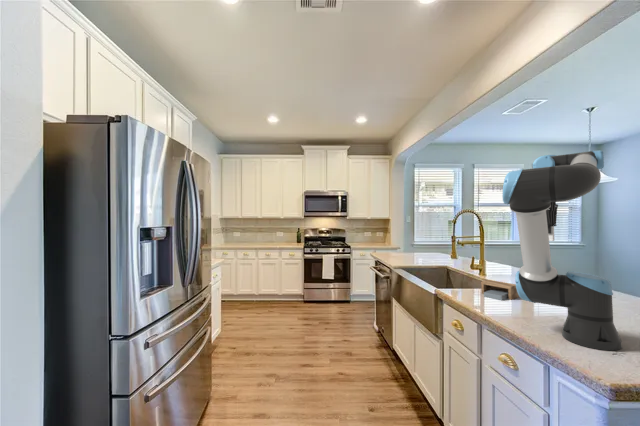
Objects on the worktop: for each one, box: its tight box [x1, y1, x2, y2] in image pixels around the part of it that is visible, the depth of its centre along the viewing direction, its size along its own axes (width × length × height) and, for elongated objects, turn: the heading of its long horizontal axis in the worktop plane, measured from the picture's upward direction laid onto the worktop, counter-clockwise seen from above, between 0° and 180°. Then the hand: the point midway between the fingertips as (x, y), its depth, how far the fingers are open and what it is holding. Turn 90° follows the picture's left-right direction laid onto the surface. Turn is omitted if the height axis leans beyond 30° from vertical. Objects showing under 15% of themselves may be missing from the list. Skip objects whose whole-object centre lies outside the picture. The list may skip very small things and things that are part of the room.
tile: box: [483, 289, 509, 302], centre depth 155 cm, size 12×9×3 cm
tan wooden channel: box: [480, 279, 520, 301], centre depth 157 cm, size 8×15×7 cm, turn 31°
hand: (550, 240), depth 130 cm, fingers closed
